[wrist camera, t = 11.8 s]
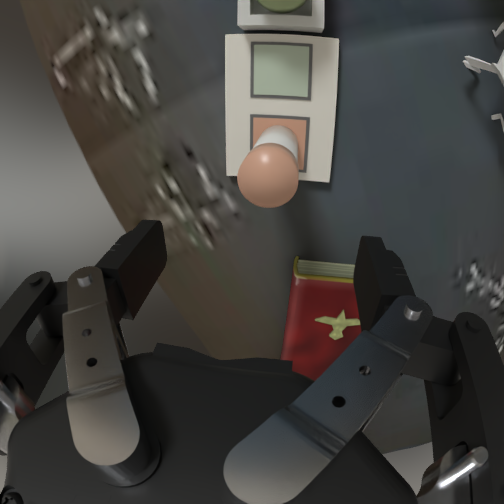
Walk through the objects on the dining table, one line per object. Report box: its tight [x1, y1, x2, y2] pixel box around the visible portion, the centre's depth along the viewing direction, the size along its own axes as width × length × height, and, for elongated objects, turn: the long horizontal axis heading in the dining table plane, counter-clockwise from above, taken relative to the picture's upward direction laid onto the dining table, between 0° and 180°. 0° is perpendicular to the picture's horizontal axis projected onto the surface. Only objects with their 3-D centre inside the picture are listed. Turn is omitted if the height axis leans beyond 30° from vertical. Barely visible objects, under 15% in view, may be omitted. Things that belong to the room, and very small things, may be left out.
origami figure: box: [463, 22, 504, 132], centre depth 18 cm, size 12×8×5 cm
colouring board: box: [225, 34, 339, 182], centre depth 26 cm, size 10×14×1 cm
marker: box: [237, 125, 299, 208], centre depth 23 cm, size 4×4×10 cm
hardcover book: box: [280, 256, 361, 381], centre depth 39 cm, size 12×21×4 cm, turn 178°
